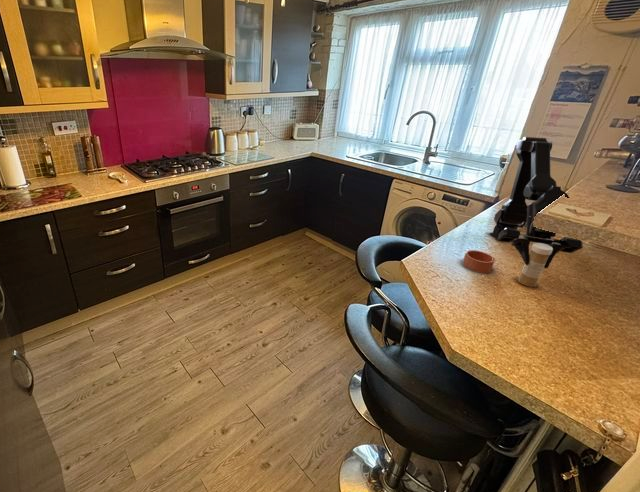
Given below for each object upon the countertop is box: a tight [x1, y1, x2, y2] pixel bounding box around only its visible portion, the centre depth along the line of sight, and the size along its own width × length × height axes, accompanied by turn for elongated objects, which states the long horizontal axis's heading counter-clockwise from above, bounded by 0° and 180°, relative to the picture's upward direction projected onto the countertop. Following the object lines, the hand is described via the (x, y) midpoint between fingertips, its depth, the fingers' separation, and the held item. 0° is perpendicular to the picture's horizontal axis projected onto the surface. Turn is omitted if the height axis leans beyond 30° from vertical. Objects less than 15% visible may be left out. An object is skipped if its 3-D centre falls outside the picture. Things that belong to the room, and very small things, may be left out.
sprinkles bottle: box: [517, 242, 553, 288], centre depth 98 cm, size 5×5×14 cm
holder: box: [462, 249, 496, 274], centre depth 109 cm, size 8×8×4 cm
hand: (536, 266), depth 97 cm, fingers closed on sprinkles bottle, 4 cm apart
